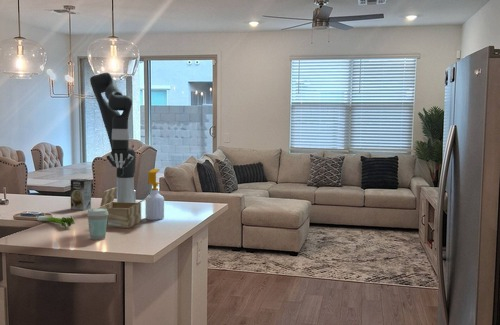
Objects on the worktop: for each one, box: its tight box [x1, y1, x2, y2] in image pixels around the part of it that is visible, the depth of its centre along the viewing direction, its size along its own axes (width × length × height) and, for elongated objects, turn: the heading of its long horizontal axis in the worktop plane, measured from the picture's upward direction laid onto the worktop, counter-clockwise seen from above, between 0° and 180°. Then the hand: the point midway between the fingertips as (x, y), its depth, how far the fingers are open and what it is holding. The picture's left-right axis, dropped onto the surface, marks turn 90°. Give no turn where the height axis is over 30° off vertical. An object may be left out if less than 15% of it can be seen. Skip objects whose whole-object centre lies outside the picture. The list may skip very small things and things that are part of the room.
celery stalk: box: [36, 215, 75, 230], centre depth 233 cm, size 6×7×30 cm
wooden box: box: [99, 201, 142, 229], centre depth 236 cm, size 17×14×9 cm
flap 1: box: [100, 186, 117, 207], centre depth 236 cm, size 15×1×7 cm, turn 174°
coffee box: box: [70, 178, 92, 211], centre depth 273 cm, size 9×6×16 cm
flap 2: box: [129, 195, 153, 208], centre depth 235 cm, size 15×1×7 cm
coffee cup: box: [86, 207, 108, 241], centre depth 208 cm, size 8×8×12 cm
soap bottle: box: [144, 168, 165, 221], centre depth 251 cm, size 9×9×25 cm
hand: (120, 175), depth 235 cm, fingers closed
